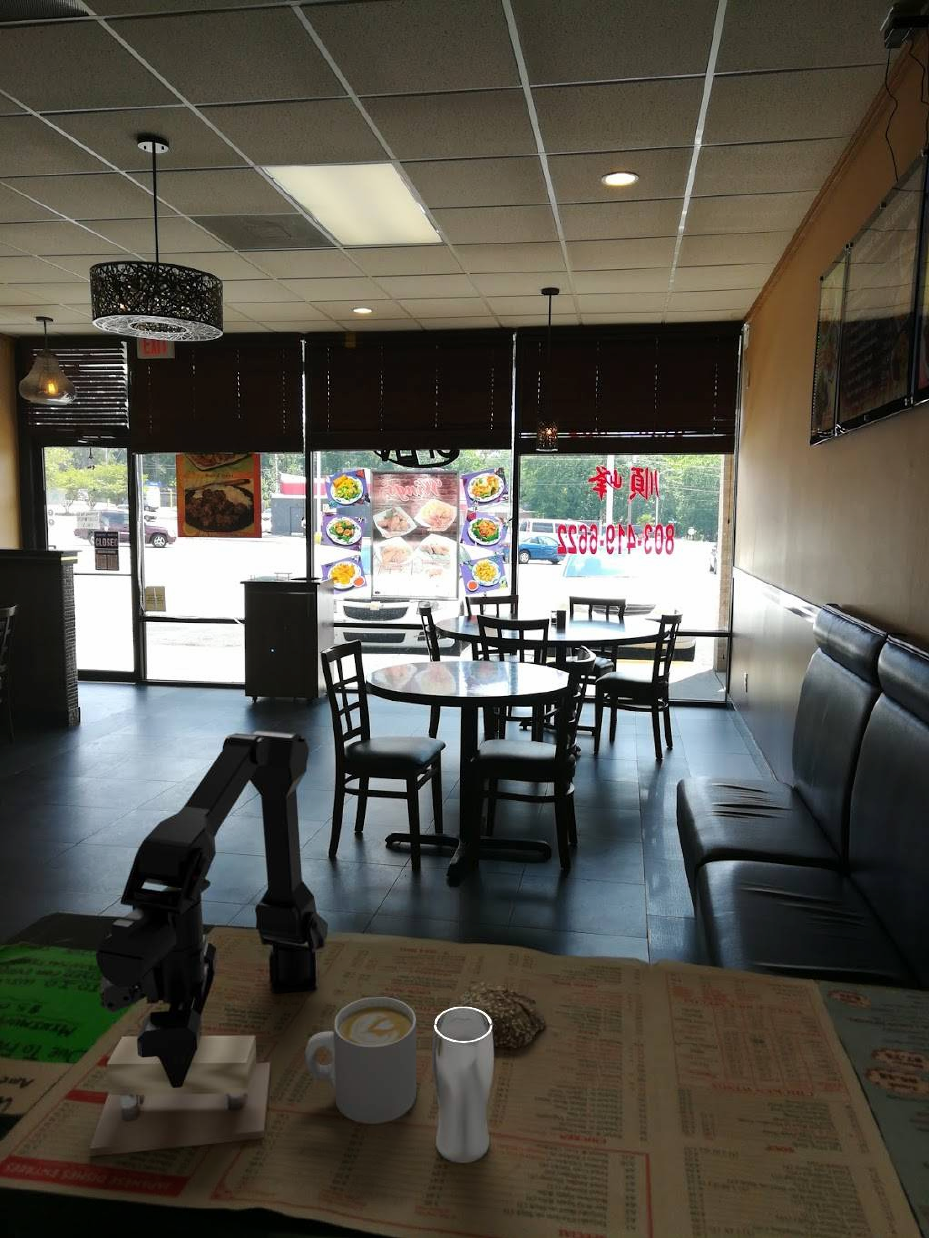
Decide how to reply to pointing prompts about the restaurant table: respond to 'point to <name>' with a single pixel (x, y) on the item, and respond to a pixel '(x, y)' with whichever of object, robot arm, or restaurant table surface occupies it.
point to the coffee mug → (369, 1059)
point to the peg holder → (182, 1119)
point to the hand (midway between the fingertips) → (183, 1060)
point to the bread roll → (505, 1013)
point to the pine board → (211, 1071)
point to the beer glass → (462, 1081)
